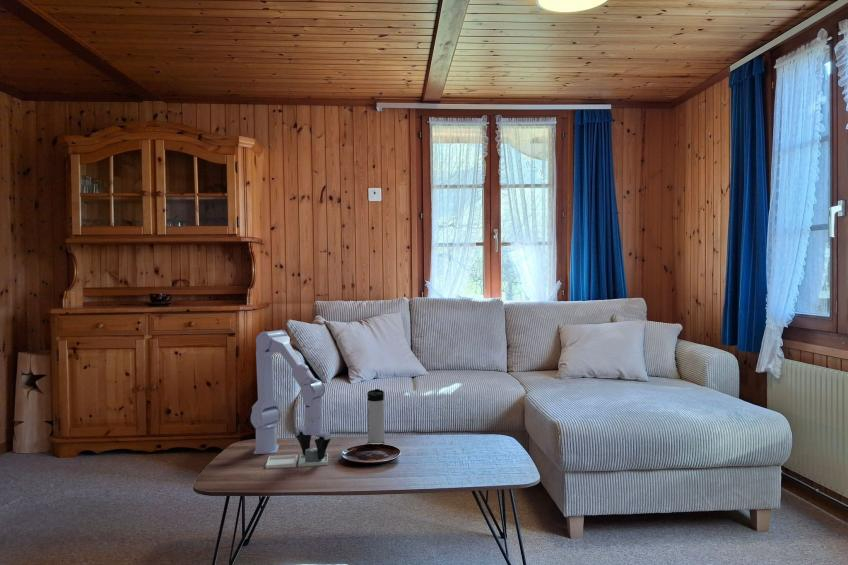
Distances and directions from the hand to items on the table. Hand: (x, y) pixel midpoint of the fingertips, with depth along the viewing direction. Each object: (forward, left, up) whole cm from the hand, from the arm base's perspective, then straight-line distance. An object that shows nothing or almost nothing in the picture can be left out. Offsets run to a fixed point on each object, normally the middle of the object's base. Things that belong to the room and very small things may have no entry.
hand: (313, 456), depth 191 cm
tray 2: (0, 0, -2) cm, 2 cm away
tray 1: (0, -10, -2) cm, 11 cm away
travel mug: (-17, +23, -2) cm, 28 cm away
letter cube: (0, 0, -1) cm, 1 cm away
